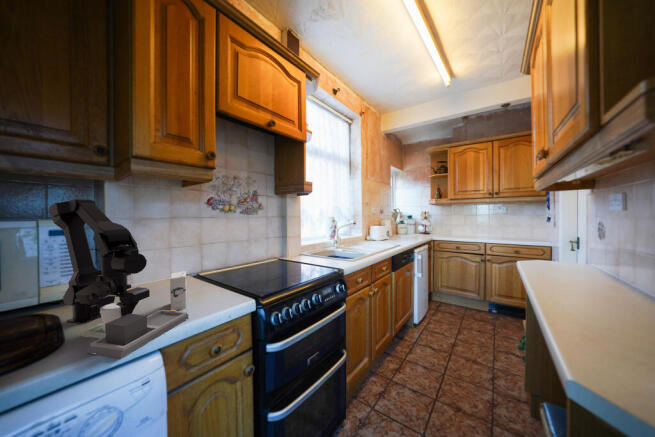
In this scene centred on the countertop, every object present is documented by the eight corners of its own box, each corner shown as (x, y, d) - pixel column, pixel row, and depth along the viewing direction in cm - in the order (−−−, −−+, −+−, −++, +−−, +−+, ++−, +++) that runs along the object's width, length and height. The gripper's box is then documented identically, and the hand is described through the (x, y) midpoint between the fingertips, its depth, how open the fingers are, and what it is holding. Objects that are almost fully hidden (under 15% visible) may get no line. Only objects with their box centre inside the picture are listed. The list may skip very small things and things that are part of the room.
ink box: (171, 302, 90) (170, 272, 89) (186, 300, 92) (186, 270, 92) (170, 311, 83) (169, 278, 82) (186, 308, 85) (186, 275, 85)
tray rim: (79, 335, 66) (79, 332, 66) (120, 318, 77) (120, 315, 77) (111, 339, 64) (111, 336, 64) (148, 321, 75) (148, 318, 75)
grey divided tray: (88, 353, 58) (87, 327, 58) (162, 315, 79) (162, 296, 79) (121, 358, 56) (120, 331, 56) (188, 318, 77) (188, 298, 77)
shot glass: (135, 326, 72) (134, 303, 72) (105, 336, 66) (104, 312, 66) (125, 320, 75) (125, 299, 75) (96, 330, 70) (96, 306, 69)
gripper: (54, 276, 64) (57, 332, 64) (110, 280, 60) (112, 339, 61) (101, 266, 75) (102, 314, 75) (150, 269, 71) (151, 319, 72)
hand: (116, 321), depth 71 cm, fingers closed on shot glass, 6 cm apart
